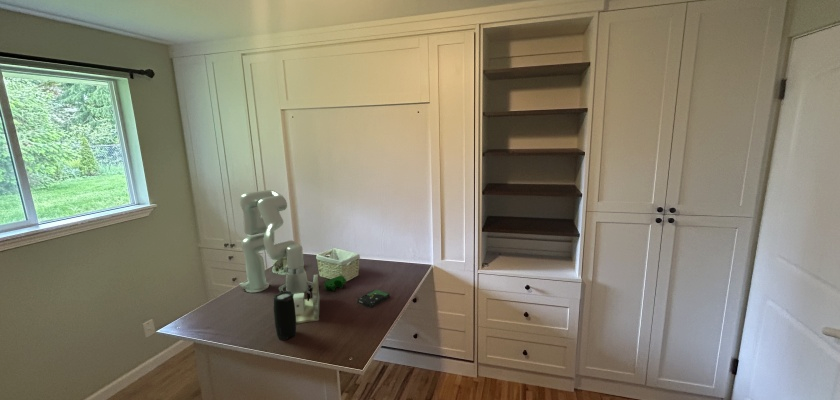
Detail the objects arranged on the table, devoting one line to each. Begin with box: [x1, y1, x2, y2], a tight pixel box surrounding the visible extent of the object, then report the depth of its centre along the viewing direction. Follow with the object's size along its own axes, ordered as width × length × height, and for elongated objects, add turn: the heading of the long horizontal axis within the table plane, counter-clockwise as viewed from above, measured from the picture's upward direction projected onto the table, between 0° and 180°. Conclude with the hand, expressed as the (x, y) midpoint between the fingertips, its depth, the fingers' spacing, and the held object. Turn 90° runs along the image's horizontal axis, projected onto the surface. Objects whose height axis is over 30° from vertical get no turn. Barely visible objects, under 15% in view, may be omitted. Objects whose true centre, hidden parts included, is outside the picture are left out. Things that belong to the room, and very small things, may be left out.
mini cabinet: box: [293, 292, 305, 315], centre depth 169 cm, size 5×10×7 cm, turn 15°
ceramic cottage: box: [271, 257, 287, 276], centre depth 221 cm, size 16×16×15 cm
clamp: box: [323, 276, 347, 292], centre depth 195 cm, size 12×6×9 cm, turn 128°
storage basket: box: [315, 247, 361, 282], centre depth 212 cm, size 24×16×15 cm
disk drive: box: [356, 289, 391, 309], centre depth 181 cm, size 10×3×15 cm
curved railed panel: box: [296, 273, 321, 325], centre depth 169 cm, size 19×22×14 cm
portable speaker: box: [272, 290, 297, 341], centre depth 148 cm, size 9×9×20 cm
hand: (298, 301), depth 169 cm, fingers open, 9 cm apart
